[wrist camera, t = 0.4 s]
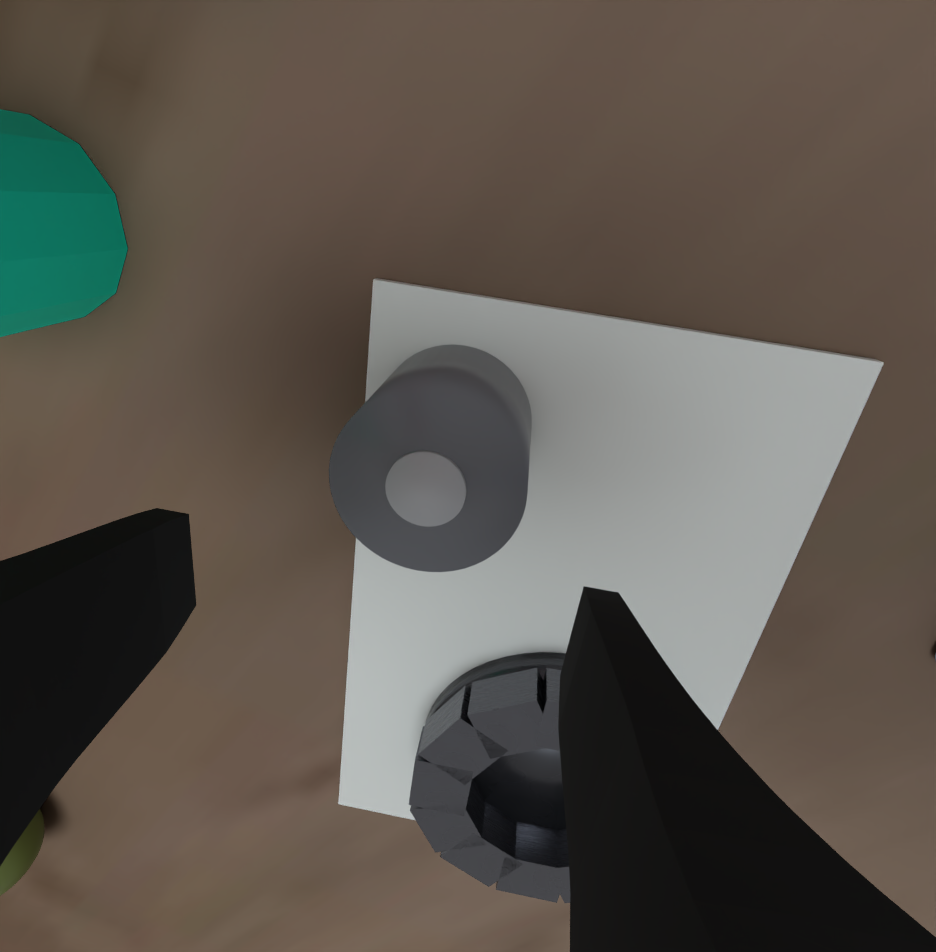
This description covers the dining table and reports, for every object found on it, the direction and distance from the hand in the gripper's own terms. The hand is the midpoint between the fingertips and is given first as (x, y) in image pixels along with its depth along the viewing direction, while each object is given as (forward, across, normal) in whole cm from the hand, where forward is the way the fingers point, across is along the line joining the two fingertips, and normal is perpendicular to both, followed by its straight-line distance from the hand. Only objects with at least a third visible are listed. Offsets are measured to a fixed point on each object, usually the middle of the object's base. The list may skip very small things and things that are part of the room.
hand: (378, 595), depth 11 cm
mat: (+10, -4, +8) cm, 14 cm away
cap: (+10, 0, 0) cm, 10 cm away
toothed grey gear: (+10, -6, +14) cm, 18 cm away
